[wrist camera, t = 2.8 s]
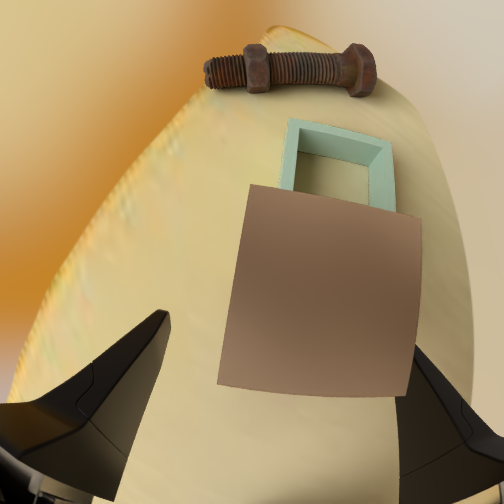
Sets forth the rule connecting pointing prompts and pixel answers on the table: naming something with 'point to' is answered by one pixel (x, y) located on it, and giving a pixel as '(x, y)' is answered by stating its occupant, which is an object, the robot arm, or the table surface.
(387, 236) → the peg
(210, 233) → the table surface
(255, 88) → the bolt
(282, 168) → the collar
